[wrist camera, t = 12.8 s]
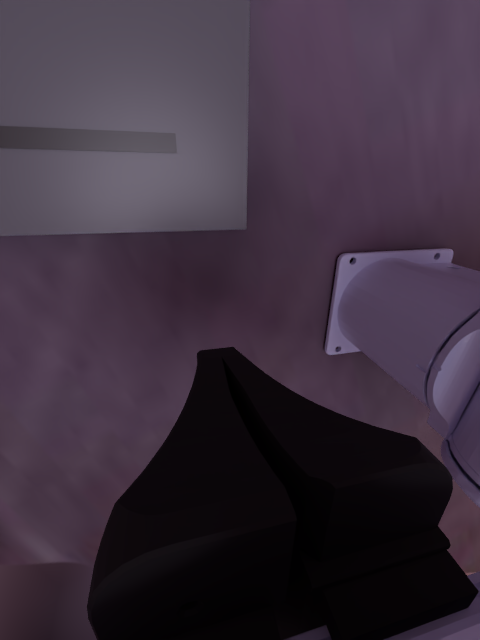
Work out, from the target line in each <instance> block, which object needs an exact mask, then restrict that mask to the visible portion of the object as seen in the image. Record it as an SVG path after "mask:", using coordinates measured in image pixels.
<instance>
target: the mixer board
mask: <svg viewBox="0 0 480 640" xmlns="http://www.w3.org/2000/svg"><path fill="white" fill-rule="evenodd" d="M249 35H250V0H0V236H24V235H61V234H97V233H134V232H170V231H207V230H243V229H246V226H247V162H248V99H249Z"/></svg>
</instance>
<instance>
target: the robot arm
mask: <svg viewBox="0 0 480 640" xmlns="http://www.w3.org/2000/svg"><path fill="white" fill-rule="evenodd" d="M435 254H436V256H435ZM434 256H435V257H434ZM351 258H353V261H352V262H351V263H350V259H351ZM452 258H453V250H452V249H448V248H438V249H417V250H397V251H377V252H356V253H343V254H341V255H340V256H339V257H338V260H337V266H336V273H335V280H334V287H333V293H332V300H331V307H330V314H329V321H328V328H327V335H326V342H325V352H326V353H327V354H328V355H336V354H343V353H351V352H359V351H362V352H363V353H364V354H365V355H366V356H367V357H369V358H370V359H371V360H372V361H373V362H375V363H376V364H377V365H378V366H379V367H381V368H382V369H383V370H384V371H385V372H386V373H388V374H389V375H390V376H391V377H392V378H394V379H395V380H396V381H397V382H398V383H400V384H401V385H402V386H403V387H404V388H405V389H407V390H408V391H409V392H410V393H411V394H413V395H414V396H415V397H416V398H417V399H419V400H420V401H421V402H422V403H423V404H424V405H426V406H427V407H428V408H429V409H430V416H429V418H428V421H427V423H428V424H429V425H430V426H431V427H432V428H433V429H434V430H436V431H437V432H438V433H439V434H440V435H441V436H442V437H443V438H444V440H443V442H442V445H441V456H442V459H443V462H444V464H445V466H446V467H445V466H444V465H443V464H442V463H441V462H440V461H439V460H438V459H437V458H436V457H435V456H434V455H433V454H432V453H431V452H430V451H429V450H428V449H427V448H426V447H425V446H424V445H423V444H422V443H421V442H420V441H419V440H418V439H417V438H415V437H412V436H408V435H404V434H401V433H397V432H393V431H390V430H386V429H382V428H379V427H375V426H372V425H369V424H366V423H363V422H360V421H358V420H355V419H352V418H349V417H346V416H344V415H341V414H339V413H336V412H334V411H332V410H329V409H327V408H325V407H323V406H320V405H318V404H316V403H314V402H312V401H310V400H308V399H306V398H304V397H302V396H300V395H299V394H297V393H295V392H293V391H291V390H290V389H288V388H286V387H285V386H283V385H282V384H280V383H279V382H277V381H276V380H274V379H273V378H271V377H270V376H269V375H267V374H266V373H264V372H263V371H262V370H260V369H259V368H258V367H257V366H255V365H254V364H253V363H252V362H250V361H249V360H248V359H247V358H246V357H244V356H243V355H242V354H241V353H240V352H239V351H237V350H236V349H235V348H234V347H227V348H219V349H210V350H201V351H199V352H198V353H197V369H196V374H195V377H194V381H193V385H192V388H191V390H190V393H189V396H188V398H187V401H186V403H185V405H184V408H183V410H182V412H181V414H180V416H179V418H178V420H177V422H176V423H175V425H174V427H173V428H172V430H171V432H170V434H169V435H168V437H167V439H166V440H165V442H164V443H163V445H162V446H161V448H160V449H159V450H158V452H157V453H156V454H155V456H154V457H153V458H152V460H151V461H150V463H149V464H148V465H147V467H146V468H145V469H144V471H143V472H142V473H141V474H140V475H139V477H138V478H137V479H136V480H135V481H134V482H133V483H132V485H131V486H130V487H129V488H128V489H127V490H126V491H125V493H124V494H123V495H122V496H121V497H120V498H119V499H118V500H117V502H116V503H115V505H114V507H113V510H112V512H111V515H110V517H109V520H108V522H107V525H106V528H105V531H104V534H103V537H102V540H101V543H100V546H99V550H98V553H97V557H96V561H95V565H94V569H93V575H92V581H91V587H90V592H89V598H88V604H87V611H88V619H89V621H90V624H91V626H92V629H93V631H94V633H95V635H96V638H97V640H480V572H477V573H474V574H471V575H468V576H467V575H466V574H465V573H464V571H463V570H462V569H461V568H460V566H459V565H458V564H457V562H456V561H455V560H454V559H453V557H452V556H451V555H450V553H449V552H448V551H447V550H446V549H449V547H450V542H449V539H448V538H447V537H446V536H445V534H444V533H443V532H442V531H441V530H440V528H439V527H438V524H439V521H440V519H441V517H442V515H443V513H444V511H445V508H446V506H447V504H448V502H449V500H450V497H451V493H452V490H453V483H452V477H453V479H454V480H455V482H456V483H457V484H458V485H459V486H460V488H461V489H462V490H463V491H464V492H465V494H466V495H467V496H468V497H469V498H470V499H471V500H472V501H473V502H474V503H475V504H476V505H477V506H478V507H479V508H480V271H477V270H474V269H470V268H467V267H463V266H459V265H456V264H452V263H451V261H452ZM338 346H339V347H338ZM336 347H338V348H337V349H336ZM335 349H336V350H335Z"/></svg>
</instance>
